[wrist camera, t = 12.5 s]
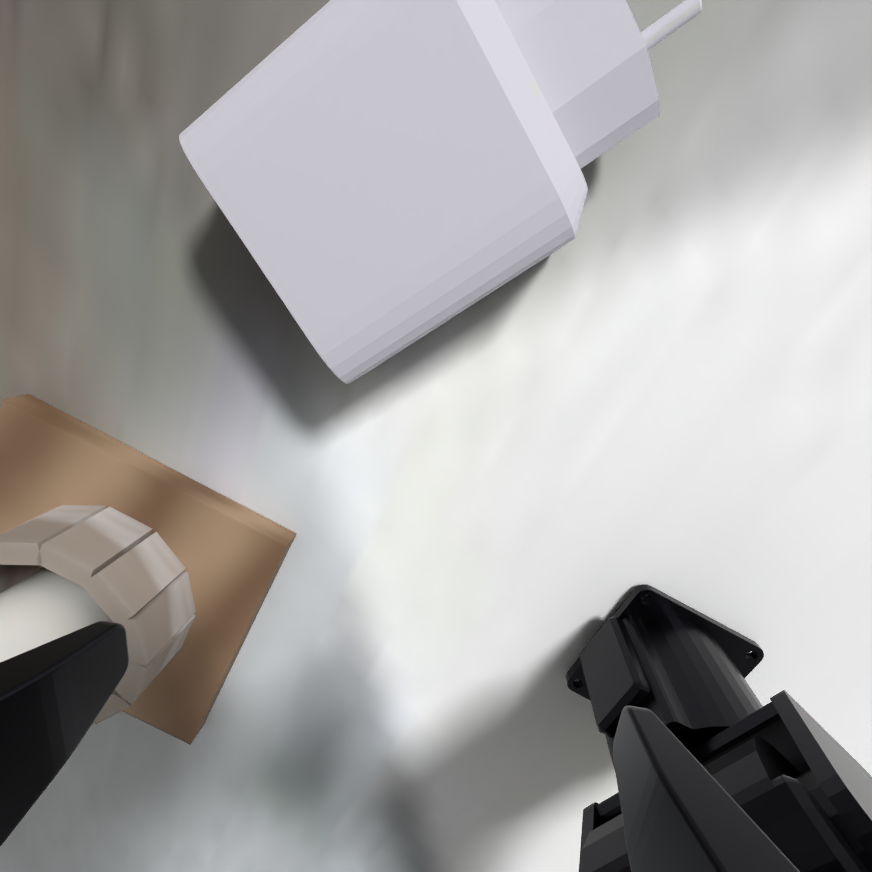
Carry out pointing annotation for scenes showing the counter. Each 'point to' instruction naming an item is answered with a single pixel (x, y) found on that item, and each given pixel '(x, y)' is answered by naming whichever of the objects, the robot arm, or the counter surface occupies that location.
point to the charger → (420, 154)
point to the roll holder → (136, 556)
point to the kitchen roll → (43, 612)
